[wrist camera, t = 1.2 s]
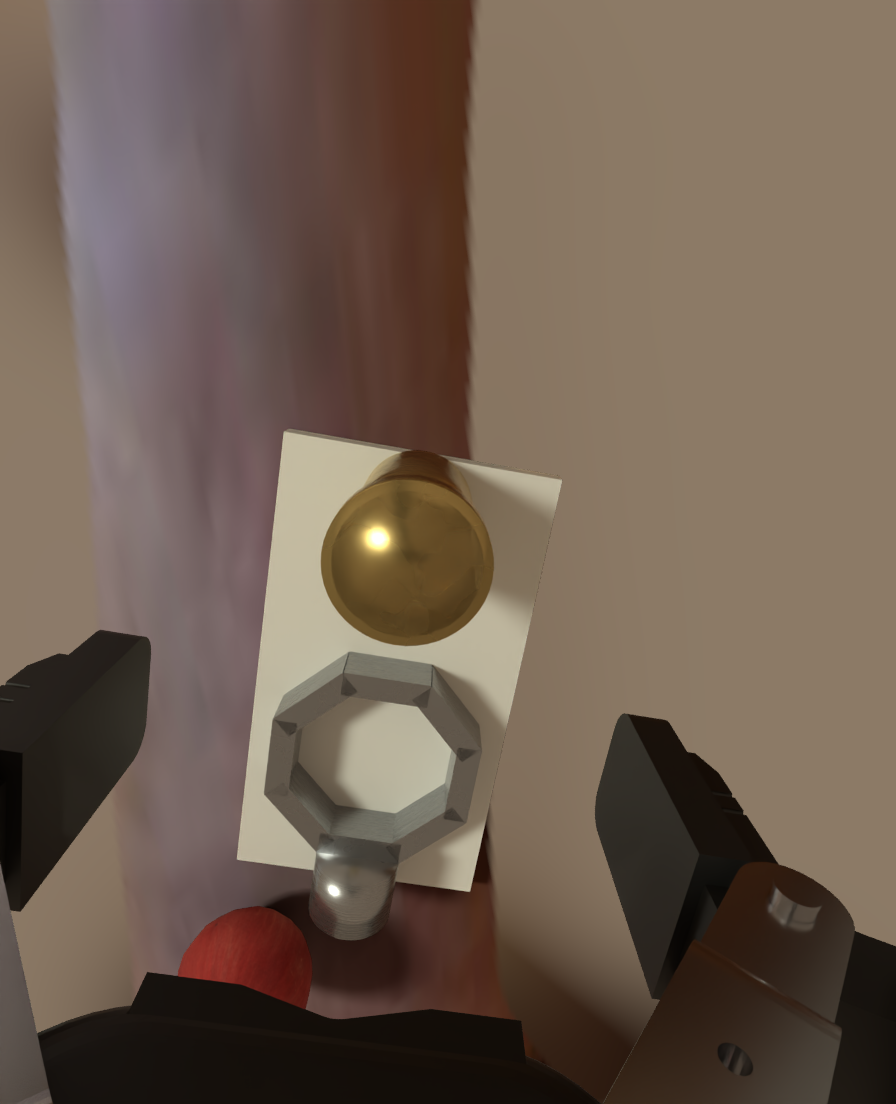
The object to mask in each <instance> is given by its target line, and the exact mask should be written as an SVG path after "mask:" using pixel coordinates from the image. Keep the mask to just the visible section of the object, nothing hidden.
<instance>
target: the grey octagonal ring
mask: <svg viewBox="0 0 896 1104" xmlns="http://www.w3.org/2000/svg"><path fill="white" fill-rule="evenodd" d="M349 697H356V698H363V699H370V700H376V701H383V702H389V703H396V704H402V705H409V706H415V707H418V708H419V709H420V711H421V712H422V713H423V714H424V716H425V717H426V718H427V719H428V721H429V722H430V723H431V724H432V726H433V727H434V728H435V729H436V731H437V732H438V733H439V734H440V736H441V737H442V738H443V739H444V741H445V742H446V743H447V744H448V746H449V747H450V748H451V749H452V750H451V754H450V759H449V764H448V769H447V774H446V779H445V783H444V784H443V785H441V786H439V787H438V788H436V789H435V790H433V791H431V792H430V793H428V794H426V795H425V796H423V797H421V798H420V799H418V800H417V801H415V802H413V803H412V804H410V805H408V806H407V807H405V808H404V809H402V810H400V811H399V812H397V813H389V812H382V811H375V810H368V809H361V808H354V807H347V806H340V805H335V803H334V802H333V801H332V800H331V799H330V798H329V797H328V795H327V794H326V793H325V792H324V791H323V790H322V789H321V787H320V786H319V785H318V784H317V783H316V782H315V781H314V779H313V778H312V777H311V776H310V775H309V774H308V773H307V771H306V770H305V769H304V768H303V767H302V766H301V764H300V763H299V762H298V759H299V751H300V744H301V736H302V729H303V727H304V726H306V725H307V724H309V723H310V722H312V721H313V720H315V719H316V718H318V717H319V716H321V715H322V714H324V713H326V712H327V711H329V710H330V709H332V708H333V707H335V706H336V705H338V704H339V703H341V702H342V701H344V700H345V699H347V698H349ZM481 754H482V746H481V736H480V726H479V724H478V722H477V721H476V720H475V719H474V717H473V716H472V715H471V713H470V712H469V711H468V709H467V708H466V707H465V706H464V704H463V703H462V702H461V700H460V699H459V698H458V697H457V695H456V694H455V693H454V691H453V690H452V689H451V688H450V686H449V685H448V684H447V682H446V681H445V680H444V679H443V677H442V676H441V675H440V673H439V672H438V671H437V669H436V668H435V667H434V666H433V665H432V664H427V663H421V662H414V661H408V660H402V659H395V658H389V657H383V656H376V655H370V654H363V653H357V652H351V651H350V653H349V652H348V653H346V654H345V655H343V656H342V657H340V658H338V659H337V660H335V661H334V662H332V663H331V664H329V665H328V666H326V667H325V668H323V669H322V670H320V671H319V672H317V673H316V674H314V675H313V676H311V677H310V678H308V679H307V680H305V681H304V682H302V683H301V684H299V685H298V686H296V687H295V688H293V689H292V690H290V691H289V692H287V693H286V694H284V696H283V697H282V700H281V702H280V704H279V706H278V709H277V711H276V713H275V715H274V718H273V720H272V729H271V737H270V745H269V754H268V762H267V771H266V779H265V787H264V795H265V796H266V797H267V798H268V799H269V800H270V802H271V803H272V804H273V805H274V806H275V807H276V808H277V809H278V810H279V812H280V813H281V814H282V815H283V816H284V817H285V818H286V819H287V820H288V821H289V823H290V824H291V825H292V826H293V827H294V828H295V829H296V830H297V831H298V833H299V834H300V835H301V836H302V837H303V838H304V839H305V840H306V841H307V843H308V844H309V845H310V846H311V847H312V848H313V849H314V850H315V851H316V858H315V865H314V872H313V878H312V885H311V892H310V899H309V905H308V907H309V914H310V917H311V919H312V921H313V923H314V924H315V925H316V926H317V927H318V928H319V929H320V930H321V931H322V932H324V933H326V934H327V935H329V936H332V937H334V938H337V939H342V940H360V939H364V938H367V937H370V936H372V935H374V934H376V933H377V932H378V931H380V930H381V929H382V928H383V927H384V925H385V924H386V922H387V920H388V917H389V913H390V908H391V902H392V897H393V892H394V886H395V881H396V876H397V870H398V865H399V863H401V862H403V861H404V860H406V859H408V858H409V857H411V856H413V855H414V854H416V853H418V852H419V851H421V850H423V849H424V848H426V847H428V846H429V845H431V844H433V843H434V842H436V841H438V840H439V839H441V838H443V837H444V836H446V835H448V834H449V833H451V832H453V831H454V830H456V829H458V828H459V827H461V826H463V825H464V824H466V823H467V818H468V814H469V809H470V805H471V800H472V795H473V791H474V786H475V781H476V777H477V772H478V768H479V763H480V758H481Z"/></svg>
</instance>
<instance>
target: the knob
mask: <svg viewBox="0 0 896 1104" xmlns="http://www.w3.org/2000/svg"><path fill="white" fill-rule="evenodd" d="M493 573H494V556H493V549H492V545H491V541H490V537H489V534H488V530H487V527H486V525H485V523H484V520H483V518H482V517H481V515H480V513H479V512H478V510H477V509H476V508H475V506H474V505H473V503H472V498H471V493H470V489H469V486H468V484H467V482H466V480H465V478H464V476H463V475H462V473H461V472H460V471H459V470H458V468H457V467H456V466H455V465H453V464H452V463H451V462H450V461H448V460H447V459H445V458H444V457H442V456H440V455H437V454H435V453H432V452H428V451H421V450H411V451H404V452H401V453H397V454H395V455H392V456H390V457H388V458H387V459H385V460H384V461H382V462H381V463H380V464H379V465H378V466H377V467H376V468H375V469H374V470H373V471H372V473H371V474H370V475H369V477H368V479H367V481H366V482H365V484H364V486H363V488H361V489H359V490H358V491H357V492H356V493H354V494H353V495H352V496H351V497H350V498H349V499H348V500H347V501H346V502H345V503H344V504H343V505H342V507H341V508H340V510H339V511H338V512H337V514H336V516H335V517H334V519H333V521H332V522H331V524H330V526H329V528H328V530H327V532H326V535H325V538H324V541H323V546H322V551H321V574H322V579H323V584H324V587H325V589H326V592H327V595H328V597H329V599H330V601H331V603H332V604H333V606H334V607H335V609H336V610H337V612H338V613H339V614H340V615H341V616H342V617H343V618H344V620H345V621H346V622H348V623H349V624H350V625H351V626H352V627H353V628H355V629H356V630H358V631H359V632H361V633H362V634H364V635H366V636H368V637H370V638H372V639H374V640H377V641H380V642H383V643H387V644H392V645H399V646H418V645H425V644H430V643H433V642H437V641H440V640H442V639H444V638H447V637H449V636H451V635H452V634H454V633H456V632H457V631H459V630H460V629H461V628H463V627H464V626H466V625H467V624H468V623H469V622H470V621H471V620H472V619H473V618H474V616H475V615H476V614H477V613H478V611H479V610H480V609H481V607H482V605H483V604H484V602H485V600H486V598H487V596H488V593H489V591H490V587H491V584H492V580H493Z"/></svg>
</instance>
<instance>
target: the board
mask: <svg viewBox="0 0 896 1104" xmlns="http://www.w3.org/2000/svg"><path fill="white" fill-rule="evenodd" d="M404 451H411V450H409V449H403V448H398V447H392V446H386V445H380V444H375V443H369V442H363V441H358V440H352V439H346V438H340V437H335V436H329V435H323V434H317V433H312V432H306V431H300V430H295V429H288V430H286V431H284V436H283V445H282V454H281V463H280V472H279V481H278V490H277V499H276V509H275V518H274V527H273V536H272V545H271V554H270V563H269V572H268V581H267V590H266V599H265V608H264V617H263V627H262V636H261V645H260V654H259V663H258V672H257V681H256V690H255V699H254V708H253V717H252V726H251V735H250V744H249V754H248V763H247V772H246V781H245V790H244V799H243V808H242V817H241V826H240V835H239V844H238V853H237V860H244V861H251V862H258V863H265V864H273V865H280V866H287V867H294V868H302V869H309V870H314V865H315V858H316V851H315V850H314V849H313V848H312V847H311V846H310V845H309V844H308V843H307V841H306V840H305V839H304V838H303V837H302V836H301V835H300V834H299V833H298V831H297V830H296V829H295V828H294V827H293V826H292V825H291V824H290V823H289V821H288V820H287V819H286V818H285V817H284V816H283V815H282V814H281V813H280V812H279V810H278V809H277V808H276V807H275V806H274V805H273V804H272V803H271V802H270V800H269V799H268V798H267V797H266V796H265V795H264V787H265V779H266V771H267V762H268V754H269V745H270V737H271V729H272V720H273V718H274V715H275V713H276V711H277V709H278V706H279V704H280V702H281V700H282V697H283V696H284V694H286V693H287V692H289V691H290V690H292V689H293V688H295V687H296V686H298V685H299V684H301V683H302V682H304V681H305V680H307V679H308V678H310V677H311V676H313V675H314V674H316V673H317V672H319V671H320V670H322V669H323V668H325V667H326V666H328V665H329V664H331V663H332V662H334V661H335V660H337V659H338V658H340V657H342V656H343V655H345V654H346V653H348V652H349V653H350V651H351V652H357V653H363V654H370V655H376V656H383V657H389V658H395V659H402V660H408V661H414V662H421V663H427V664H432V665H433V666H434V667H435V668H436V669H437V671H438V672H439V673H440V675H441V676H442V677H443V679H444V680H445V681H446V682H447V684H448V685H449V686H450V688H451V689H452V690H453V691H454V693H455V694H456V695H457V697H458V698H459V699H460V700H461V702H462V703H463V704H464V706H465V707H466V708H467V709H468V711H469V712H470V713H471V715H472V716H473V717H474V719H475V720H476V721H477V722H478V724H479V726H480V736H481V746H482V754H481V758H480V763H479V768H478V772H477V777H476V781H475V786H474V791H473V795H472V800H471V805H470V809H469V814H468V818H467V823H466V824H464V825H463V826H461V827H459V828H458V829H456V830H454V831H453V832H451V833H449V834H448V835H446V836H444V837H443V838H441V839H439V840H438V841H436V842H434V843H433V844H431V845H429V846H428V847H426V848H424V849H423V850H421V851H419V852H418V853H416V854H414V855H413V856H411V857H409V858H408V859H406V860H404V861H403V862H401V863H399V865H398V870H397V876H396V882H403V883H410V884H417V885H425V886H432V887H439V888H446V889H454V890H461V891H468V892H470V889H471V885H472V880H473V876H474V871H475V867H476V863H477V858H478V854H479V849H480V845H481V840H482V836H483V831H484V827H485V823H486V818H487V814H488V809H489V805H490V800H491V796H492V791H493V787H494V782H495V778H496V774H497V769H498V765H499V760H500V755H501V751H502V747H503V743H504V738H505V734H506V729H507V725H508V720H509V716H510V711H511V707H512V703H513V698H514V694H515V689H516V685H517V680H518V676H519V671H520V667H521V663H522V658H523V653H524V649H525V644H526V640H527V636H528V631H529V627H530V622H531V618H532V613H533V609H534V604H535V600H536V596H537V591H538V587H539V582H540V578H541V573H542V569H543V564H544V560H545V556H546V551H547V546H548V542H549V538H550V534H551V529H552V525H553V520H554V516H555V511H556V507H557V502H558V498H559V493H560V489H561V485H562V479H561V478H560V477H559V476H558V475H552V474H546V473H541V472H535V471H529V470H524V469H518V468H512V467H506V466H501V465H494V464H489V463H483V462H478V461H472V460H466V459H461V458H455V457H449V456H443V455H440V456H442V457H444V458H445V459H447V460H448V461H450V462H451V463H452V464H453V465H455V466H456V467H457V468H458V470H459V471H460V472H461V473H462V475H463V476H464V478H465V480H466V482H467V484H468V486H469V489H470V493H471V498H472V503H473V505H474V506H475V508H476V509H477V510H478V512H479V513H480V515H481V517H482V518H483V520H484V523H485V525H486V527H487V530H488V534H489V537H490V541H491V545H492V549H493V556H494V573H493V580H492V584H491V587H490V591H489V593H488V596H487V598H486V600H485V602H484V604H483V605H482V607H481V609H480V610H479V611H478V613H477V614H476V615H475V616H474V618H473V619H472V620H471V621H470V622H469V623H468V624H467V625H466V626H464V627H463V628H461V629H460V630H459V631H457V632H456V633H454V634H452V635H451V636H449V637H447V638H444V639H442V640H440V641H437V642H433V643H430V644H425V645H418V646H399V645H392V644H387V643H383V642H380V641H377V640H374V639H372V638H370V637H368V636H366V635H364V634H362V633H361V632H359V631H358V630H356V629H355V628H353V627H352V626H351V625H350V624H349V623H348V622H346V621H345V620H344V618H343V617H342V616H341V615H340V614H339V613H338V612H337V610H336V609H335V607H334V606H333V604H332V603H331V601H330V599H329V597H328V595H327V592H326V589H325V587H324V584H323V579H322V574H321V551H322V546H323V541H324V538H325V535H326V532H327V530H328V528H329V526H330V524H331V522H332V521H333V519H334V517H335V516H336V514H337V512H338V511H339V510H340V508H341V507H342V505H343V504H344V503H345V502H346V501H347V500H348V499H349V498H350V497H351V496H352V495H353V494H354V493H356V492H357V491H358V490H359V489H361V488H363V486H364V484H365V482H366V481H367V479H368V477H369V475H370V474H371V473H372V471H373V470H374V469H375V468H376V467H377V466H378V465H379V464H380V463H381V462H382V461H384V460H385V459H387V458H388V457H390V456H392V455H395V454H397V453H401V452H404ZM437 455H438V454H437ZM451 750H452V749H451V748H450V747H449V746H448V744H447V743H446V742H445V741H444V739H443V738H442V737H441V736H440V734H439V733H438V732H437V731H436V729H435V728H434V727H433V726H432V724H431V723H430V722H429V721H428V719H427V718H426V717H425V716H424V714H423V713H422V712H421V711H420V709H419V708H418V707H415V706H409V705H402V704H396V703H389V702H383V701H376V700H370V699H363V698H356V697H349V698H347V699H345V700H344V701H342V702H341V703H339V704H338V705H336V706H335V707H333V708H332V709H330V710H329V711H327V712H326V713H324V714H322V715H321V716H319V717H318V718H316V719H315V720H313V721H312V722H310V723H309V724H307V725H306V726H304V727H303V729H302V736H301V744H300V751H299V759H298V762H299V763H300V764H301V766H302V767H303V768H304V769H305V770H306V771H307V773H308V774H309V775H310V776H311V777H312V778H313V779H314V781H315V782H316V783H317V784H318V785H319V786H320V787H321V789H322V790H323V791H324V792H325V793H326V794H327V795H328V797H329V798H330V799H331V800H332V801H333V802H334V803H335V805H340V806H347V807H354V808H361V809H368V810H375V811H382V812H389V813H397V812H399V811H400V810H402V809H404V808H405V807H407V806H408V805H410V804H412V803H413V802H415V801H417V800H418V799H420V798H421V797H423V796H425V795H426V794H428V793H430V792H431V791H433V790H435V789H436V788H438V787H439V786H441V785H443V784H444V783H445V779H446V774H447V769H448V764H449V759H450V754H451Z"/></svg>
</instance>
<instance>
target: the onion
mask: <svg viewBox="0 0 896 1104" xmlns="http://www.w3.org/2000/svg"><path fill="white" fill-rule="evenodd" d="M178 976H180V977H188V978H196V979H203V980H211V981H219V982H227V983H234V984H241V985H244V986H247V987H249V988H252V989H254V990H257V991H259V992H262V993H264V994H267V995H270V996H272V997H275V998H277V999H280V1000H282V1001H285V1002H288V1003H290V1004H293V1005H295V1006H298V1007H300V1008H303V1009H305V1008H306V1005H307V1001H308V997H309V992H310V986H311V979H312V958H311V955H310V952H309V949H308V946H307V943H306V940H305V938H304V936H303V934H302V932H301V930H300V929H299V928H298V927H297V926H296V925H295V924H294V923H293V921H292V920H291V919H289V918H288V917H286V916H284V915H282V914H281V913H279V912H277V911H275V910H274V909H270V908H265V907H261V906H256V907H249V908H242V909H237V910H233V911H231V912H229V913H227V914H225V915H223V916H221V917H219V918H217V919H216V920H214V921H212V922H211V923H209V924H208V925H206V926H205V928H204V929H203V930H202V931H201V932H200V934H199V935H198V936H197V937H196V938H195V940H194V941H193V942H192V944H191V945H190V946H189V948H188V949H187V951H186V952H185V953H184V955H183V958H182V961H181V965H180V968H179V971H178Z"/></svg>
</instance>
